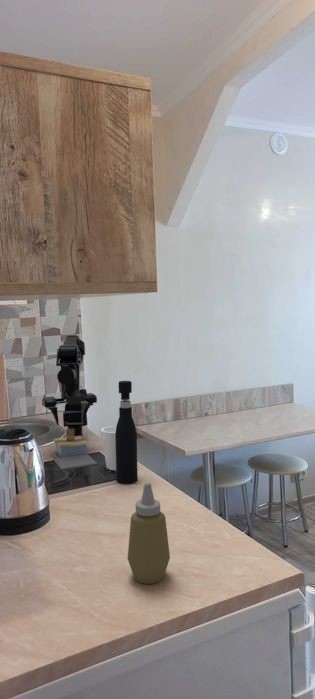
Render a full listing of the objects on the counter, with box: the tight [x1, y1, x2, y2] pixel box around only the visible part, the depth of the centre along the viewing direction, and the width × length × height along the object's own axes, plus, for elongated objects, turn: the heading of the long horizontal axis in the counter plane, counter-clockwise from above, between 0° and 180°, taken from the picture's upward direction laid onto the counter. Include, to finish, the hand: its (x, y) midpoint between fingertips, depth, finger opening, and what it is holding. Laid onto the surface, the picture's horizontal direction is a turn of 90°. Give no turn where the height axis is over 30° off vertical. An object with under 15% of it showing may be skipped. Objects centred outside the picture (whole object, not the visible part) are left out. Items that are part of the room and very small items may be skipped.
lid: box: [53, 428, 89, 448], centre depth 172 cm, size 10×10×5 cm
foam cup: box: [100, 425, 117, 470], centre depth 155 cm, size 10×9×13 cm
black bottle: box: [115, 380, 139, 485], centre depth 143 cm, size 6×6×30 cm
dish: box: [55, 443, 88, 458], centre depth 173 cm, size 9×9×4 cm
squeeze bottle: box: [127, 482, 171, 585], centre depth 91 cm, size 8×8×18 cm
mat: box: [53, 453, 98, 471], centre depth 162 cm, size 12×12×1 cm
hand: (70, 423), depth 172 cm, fingers open, 9 cm apart
